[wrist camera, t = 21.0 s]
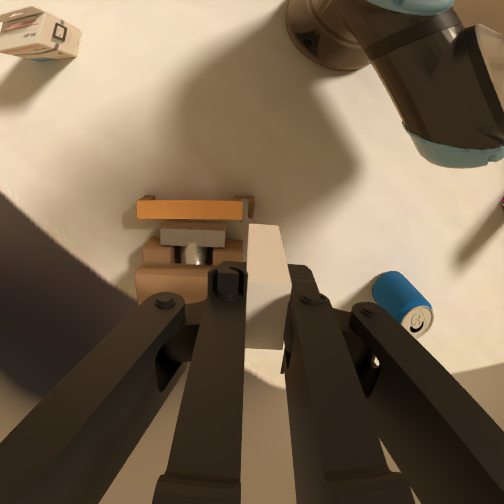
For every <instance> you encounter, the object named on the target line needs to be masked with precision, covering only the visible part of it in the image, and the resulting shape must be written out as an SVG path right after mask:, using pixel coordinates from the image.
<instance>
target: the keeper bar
mask: <svg viewBox="0 0 504 504" xmlns="http://www.w3.org/2000/svg"><path fill="white" fill-rule="evenodd" d="M248 202H249V200H248V199H241V201H218V200H138V201H137V219H224V220H240V222H248Z"/></svg>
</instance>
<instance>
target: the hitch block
mask: <svg viewBox="0 0 504 504" xmlns="http://www.w3.org/2000/svg"><path fill="white" fill-rule="evenodd" d="M241 199H248V200H249V202H248V218H253V211H254V197H243V196H236V200H235V201H241ZM139 200H155V196H144V197H142V198H141V199H139ZM142 253H143V263H142V264H141V266H140V267H139V268H138V270H137V271H136V272H135V281H136V290H137V299H138V306H139V305H140V304H141V303H142V302H143V301H144V300H146V299H147V298H148V297H149V296H151V295H153V294H156V293H159V292H171V293H176V294H179V295H180V296H182V297H183V298H184V301H185V304H189V303H196V302H200V301H203V300H205V299H206V298H207V290H208V271H209V270H210V269H211V268H213V267H215V266H218V265H219V264H220V263H222V262H223V261H234V262H242V253H243V241H237V240H226V241H225V247H224V248H222V247H214V249H213V265H199V264H177V246H172V245H161V243H160V238H158V237H151V239H150V240H149V241H148V242H147V243H146V245H145V246H144V247H143V248H142Z"/></svg>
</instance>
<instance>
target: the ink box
mask: <svg viewBox="0 0 504 504" xmlns="http://www.w3.org/2000/svg"><path fill="white" fill-rule="evenodd" d="M18 13H22V14H18ZM13 14H18V15H14V16H11V15H13ZM0 22H3V25H2V29H1V32H0V53H5V54H9V55H14V56H18V57H23V58H27V59H31V60H35V61H43V60H51V59H60V58H70V57H77V54H78V49H79V44H80V39H81V35H82V30H80V29H78V28H77V27H75V26H73V25H71V24H69V23H67V22H65V21H63V20H62V19H60V18H58V17H56V16H54V15H52V14H50V13H48V12H45V11H43V10H41V9H39V8H36V7H34V6H29V7H26V8H22V9H18V10H15V11H11V12H8V13H4V14H1V15H0Z"/></svg>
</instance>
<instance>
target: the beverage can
mask: <svg viewBox="0 0 504 504" xmlns="http://www.w3.org/2000/svg"><path fill="white" fill-rule="evenodd" d="M372 295H373V298H374V300H375V301H376V303H377V304H378V305H379V306H381V307H383V308H384V309H385V310H387V311H388V312H389V313H390V314H391V315H392V316H393V317H394V318H395V319H396V320H397V321H398V322H399V323H400V324H401V325H402V326H403V327H404V328H405V329H406V330H407V331H408V332H409V333H410V334H411V335H412V336H413V337H414V338H415V339H417V338H419V337H421V336H423V335H424V334H425V333H426V332H427V331H428V330H429V329H430V327H431V325H432V323H433V319H434V314H433V311H432V307H431V305H430V303H429V302H428V301H427V300H426V299H425V298H424V297H423V296H422V295H421V294H420V292H419V291H418V290H417V289H416V288H415V287H414V286H413V285H412V284H411V283H410V282H409V281H408V280H407V279H406V278H405V277H404V276H403V275H402V274H401V273H399V272H397V271H389V272H386V273H384V274H382V275H381V276H380V277H379V278H378V279H377V280H376V281H375V283H374V285H373V289H372Z"/></svg>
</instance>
